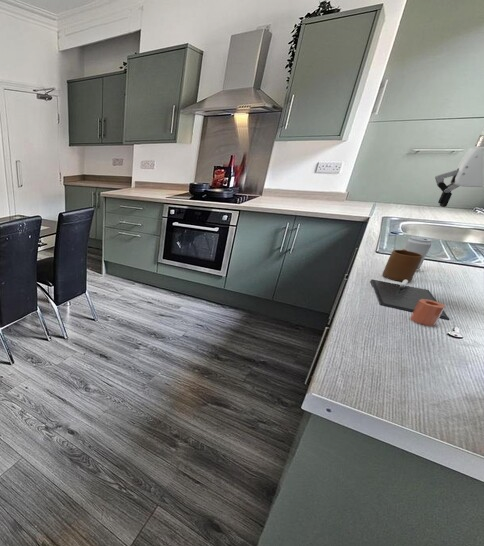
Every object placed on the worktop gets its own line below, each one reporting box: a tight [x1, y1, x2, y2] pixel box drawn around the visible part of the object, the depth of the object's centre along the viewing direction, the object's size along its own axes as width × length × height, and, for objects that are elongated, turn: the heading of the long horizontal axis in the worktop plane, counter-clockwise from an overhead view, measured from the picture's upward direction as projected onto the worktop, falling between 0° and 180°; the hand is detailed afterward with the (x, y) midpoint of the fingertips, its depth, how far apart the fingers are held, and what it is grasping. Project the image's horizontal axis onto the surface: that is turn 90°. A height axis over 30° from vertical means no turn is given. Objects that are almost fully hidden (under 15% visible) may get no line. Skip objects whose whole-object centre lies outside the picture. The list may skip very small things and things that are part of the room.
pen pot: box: [409, 299, 446, 327], centre depth 82 cm, size 5×5×6 cm
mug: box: [382, 248, 422, 282], centre depth 111 cm, size 12×8×9 cm, turn 141°
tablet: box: [370, 278, 451, 321], centre depth 96 cm, size 14×22×1 cm, turn 144°
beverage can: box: [403, 236, 433, 271], centre depth 117 cm, size 6×6×12 cm
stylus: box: [399, 279, 409, 288], centre depth 103 cm, size 1×1×13 cm
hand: (467, 207), depth 88 cm, fingers open, 9 cm apart
